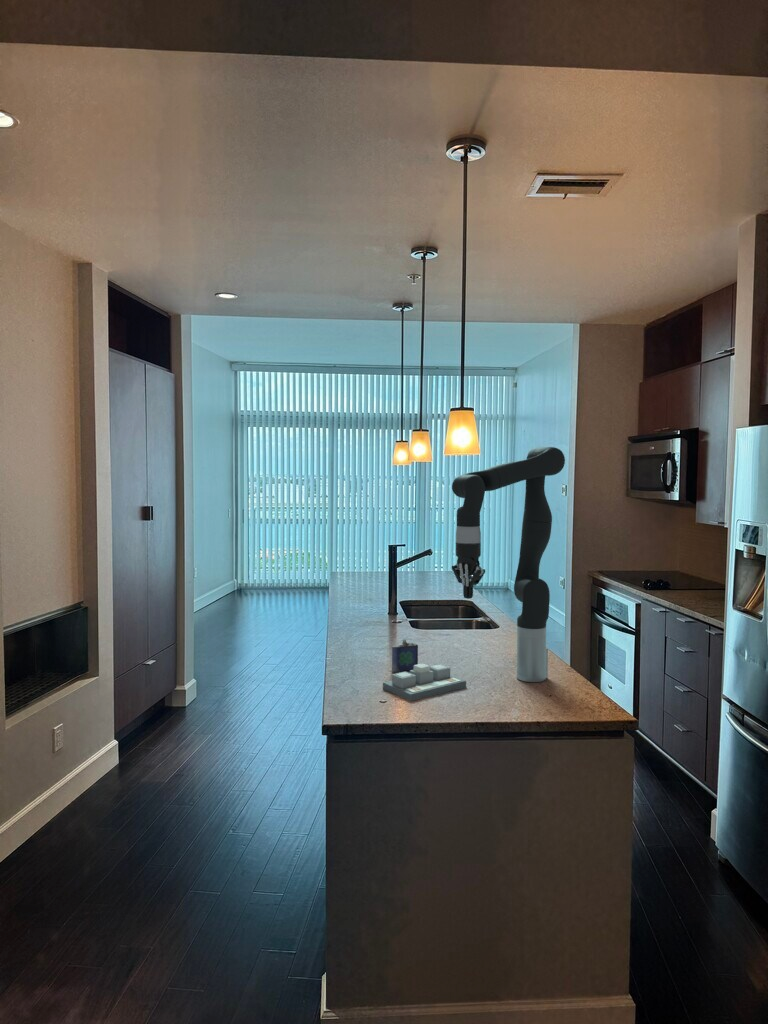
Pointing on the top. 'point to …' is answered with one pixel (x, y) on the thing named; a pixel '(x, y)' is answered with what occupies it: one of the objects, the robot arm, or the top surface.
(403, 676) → the button
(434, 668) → the button
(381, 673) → the top surface
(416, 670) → the button middle
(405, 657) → the flask
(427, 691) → the board
